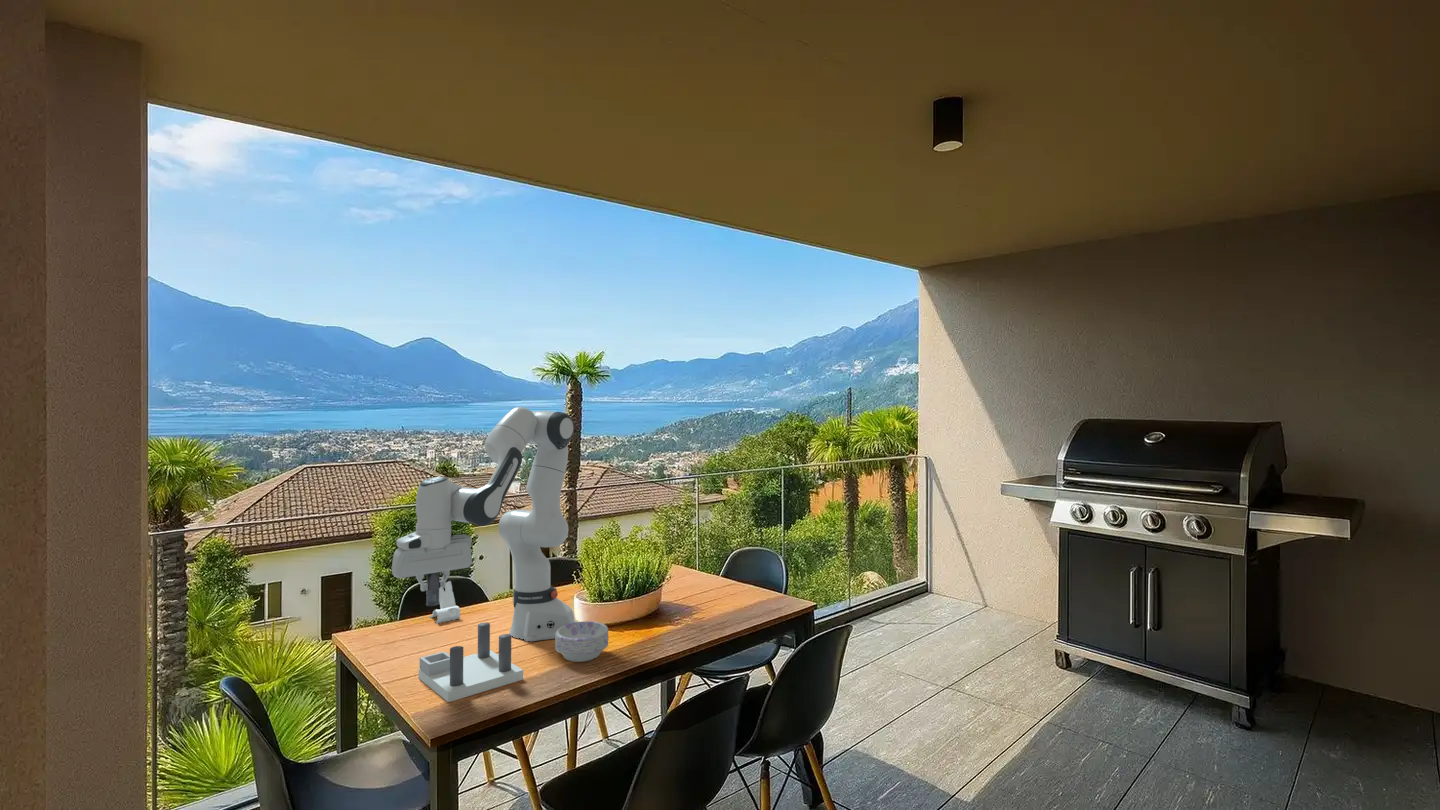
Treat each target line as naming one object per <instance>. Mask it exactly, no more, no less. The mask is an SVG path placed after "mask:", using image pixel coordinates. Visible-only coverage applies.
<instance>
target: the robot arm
mask: <svg viewBox="0 0 1440 810" xmlns="http://www.w3.org/2000/svg"><path fill="white" fill-rule="evenodd" d="M574 432H575V423H574V421H573V418H572V416H570V414H568V413H565V412H563V411H552V410H535V411H534V410H532V411H531V410H530V409H529V408H526V407H524V406H517V407H514V408H512V409H511V410H510V411H508V412H507V413H506V414H505V415H504V416H503V417H502V418H501V419H500V420H499V421H498V422H497V424H496V425H495V426H494V427H493V428H492V430H491V431H490V432H489V433H488V435H487V437H486V439H485V442H484V446H485V447H484V449H485V452H486V454H487V455H488V457H489V458H490V459H491V460H492V461H493V462H494V463H495V464H496V465H497V466H496V467H495V470H494V471H493V473H492V475H491V477H490V478H489V480H488V482H487V483H486V484H485V485H484V486H482V487H478V488H475V487H474V488H472V487H467V486H466V487H465V486H462V485H458V484H456V483H453V482H452V481H451V480H450V479H449V478H448V477H445V476H436V477H429V478H425V479H424V480H422V481H421V482H420V483H419V484H418V488H417V490H416V491H417V493H416V500H415V501H416V502H415V514H416V518H417V521H416V524H415V531H413V532H412V533H411V532H410V534H407V535H405V536H402V537H399V538H398V539H396V541H395V542H396V546H397V549H395V551H393V552H394V553H393V556H392V560H391V561H392V564H391V574H392V575H393V576H394V577H395V578H397V579H404V578H410V577H415V579H416V580H417V582H418V583H419V584H420V585H419V586H420V591H421V592H426V591H427V590H428V584H427V582H424V579H425V575H427V574H430V573H436V572H440V573H441V574H442V577H441V579H439V588H443V589H445V584H446V582H447V580H448V578H449V577H450V574H451V571H454V570H455V571H456V570H462V569H468V568H470V567H471V566H472V564H473V559H472V557H473V556H472V549H471V547H472V537H471V536H470V535H467V534H466V533H465V534H464V533H462V534H454V535H452V523H451V522H452V521H454V522H460V523H468V524H472V525H476V526H481V527H485V526H489V525H490V524H492V523H494V521H495V520H496V519H497V518H498V517H499V514H500V513H501V510H502V506H503V503H504V500H505V498H506V495H507V494H508V492H509V490H510V488H511V486H512V484H513V482H514V480H515V479H516V477H517V475H518V472H519V470H520V468H521V466H522V462H523V454H522V453H523V452H524V450H525V448H526V446H527V445H528V444H534V445H536V452H535V453H536V454H535V456H534V457H533V458H534V459H533V462H532V464H531V465H532V466H531V469H530V471H529V475H528V480H527V483H526V486H525V491H526V493H527V494H528V495H529V497H530V499H531V500H532V501H531V502H532V508H531V510H529V509H527V510H526V509H515V510H510V511H506V512H505V513H504V514H502V515H501V517H500V519H499V522H498V526H497V528H498V529H497V530H498V533H499V535H500V537H501V538H502V540H504V541H505V543H506V545H507V546H508V548H509V551H510V555H511V557H512V560H513V565H514V589H513V592H512V604H513V607H514V609H513V617H512V622H511V626H510V631H509V634H510V635H511V637H512V636H513V638H515V639H519V638H520V640H523V639H524V641H525V642H528V641H530V642H538V641H545V640H552V639H554V640H555V632H556V630H557V629H558V628H560V627H561V626H563V625H566V624H569V623H574V622H578V621H579V620H577V619H575V614H574V612H573V608H571V606H569V604H567V603H565V602H564V601H562V600H561V599H559V598H558V591H557V590H558V589H557V588H556V586H552V585H551V562H550V559H548V558H547V557H546V556H545V554H544V553H543V552H542V549H541V548H554V547H558V546H559V547H560V546H561V545H562V544H564V542H565V541H566V540H567V538H568V535H569V524H568V522H567V520H566V518H565V517H564V515H563V513H562V509H561V493H562V487H563V484H564V479H565V476H566V475H565V474H566V471H567V466H568V459H569V446H568V445H569V443H570V441H571V440H572V438H573V435H574Z"/></svg>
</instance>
